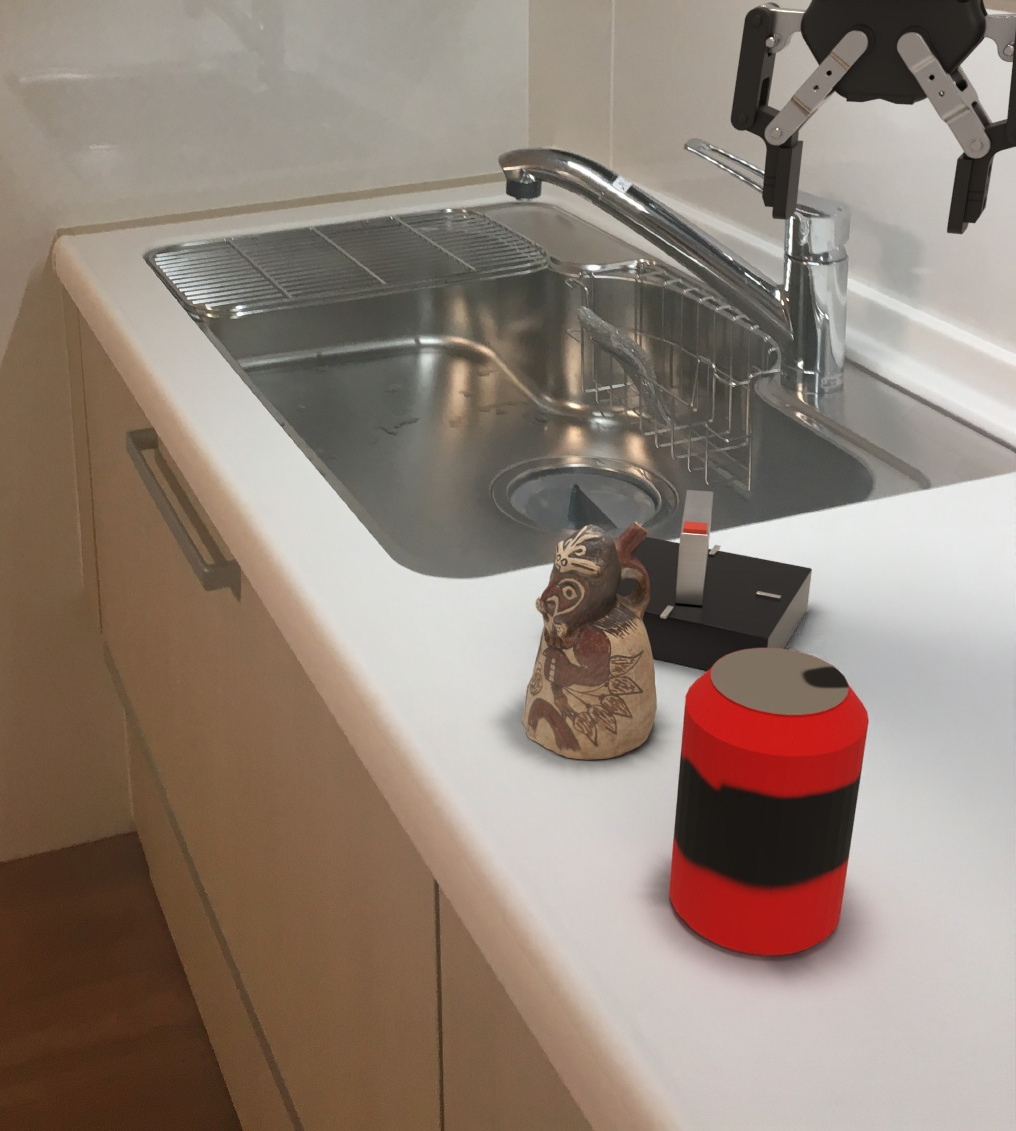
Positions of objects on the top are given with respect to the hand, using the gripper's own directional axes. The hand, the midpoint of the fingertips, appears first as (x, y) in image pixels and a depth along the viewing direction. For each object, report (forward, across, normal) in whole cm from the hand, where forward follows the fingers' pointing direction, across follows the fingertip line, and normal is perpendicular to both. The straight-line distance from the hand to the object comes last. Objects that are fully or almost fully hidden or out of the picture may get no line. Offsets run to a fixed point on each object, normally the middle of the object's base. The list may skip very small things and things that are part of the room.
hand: (867, 223), depth 79 cm
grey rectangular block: (+23, +8, -2) cm, 24 cm away
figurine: (+26, +9, +12) cm, 30 cm away
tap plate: (+26, +8, -2) cm, 27 cm away
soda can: (+26, -3, +23) cm, 35 cm away
